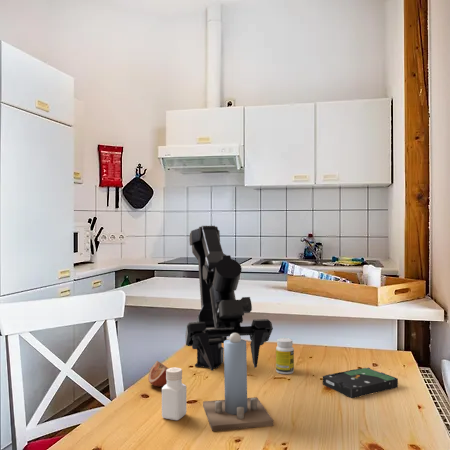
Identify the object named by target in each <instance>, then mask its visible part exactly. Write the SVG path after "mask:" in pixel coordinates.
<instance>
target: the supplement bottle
mask: <svg viewBox="0 0 450 450" xmlns="http://www.w3.org/2000/svg"><path fill="white" fill-rule="evenodd" d="M276 341H277V342H276V343H277V346H276V347H275V371H276V373H278V374H281V375H290V374H293V373H294V372H295V348H294V347H293V343H294V342H293V339H291V338H288V337H287V338H286V337H281V338H278V339H277V340H276Z"/></svg>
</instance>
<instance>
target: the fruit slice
mask: <svg viewBox="0 0 450 450" xmlns="http://www.w3.org/2000/svg"><path fill="white" fill-rule="evenodd" d="M169 368H170V367H167V366H166V365H165V364H164V363H161V362H160V361H159V360H156V361H155V363H154V364H153V365H152V366H151V367H150V370H149V373H148V377H147V379H148V382H149V384H150V385H152V386H154V387H158V388H159V387H161V388H162V387H163V386H165V385H166V384H167V380H166V370H167V369H169Z"/></svg>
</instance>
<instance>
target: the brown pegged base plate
mask: <svg viewBox="0 0 450 450" xmlns="http://www.w3.org/2000/svg"><path fill="white" fill-rule="evenodd" d="M202 408H203V409H204V413H205V415H206V418H207V420H208V424H209V426H210V429H211V431H212V432H217V431H219V432H220V431H228V430H229V431H230V430H241V429H249V428H252V429H253V428H260V427H270V426H271V427H272V426H273V427H274V419H273V418H272V416H271V415H270V414H269V412H268V411H267V409H266V408H265V406H264V405H263V403H262V402H261V401H260V399H259V397H257V396H254V397H247V412H246V413H244V407H241V406H240V407H237V415H233V414H228V413H226V412H225V399H218V400H217V399H216V400H204V401H202Z"/></svg>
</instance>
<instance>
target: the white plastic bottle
mask: <svg viewBox="0 0 450 450" xmlns="http://www.w3.org/2000/svg"><path fill="white" fill-rule="evenodd" d="M168 368H169V369H167V370H166V380H167V384H166V385H165V386H162V387H161V417H162V418H163V419H167V420H172V421H180V419H182V418H183V417H184V416H185V415H187V385H186V384H184V383H183V381H182V380H183V369H182V368H180V367H175V366H174V367H168Z"/></svg>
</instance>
